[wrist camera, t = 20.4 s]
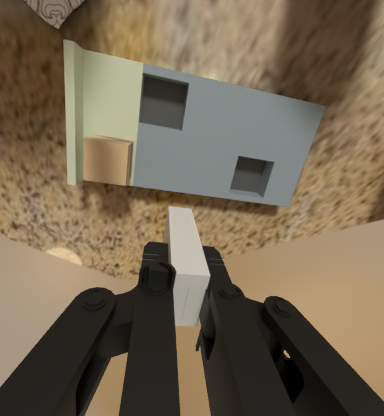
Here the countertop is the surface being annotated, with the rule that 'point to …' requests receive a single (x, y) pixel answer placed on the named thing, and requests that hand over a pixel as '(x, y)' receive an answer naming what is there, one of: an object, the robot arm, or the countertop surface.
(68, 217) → the countertop surface
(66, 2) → the cookie jar
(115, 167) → the oak cube
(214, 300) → the robot arm
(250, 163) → the board
